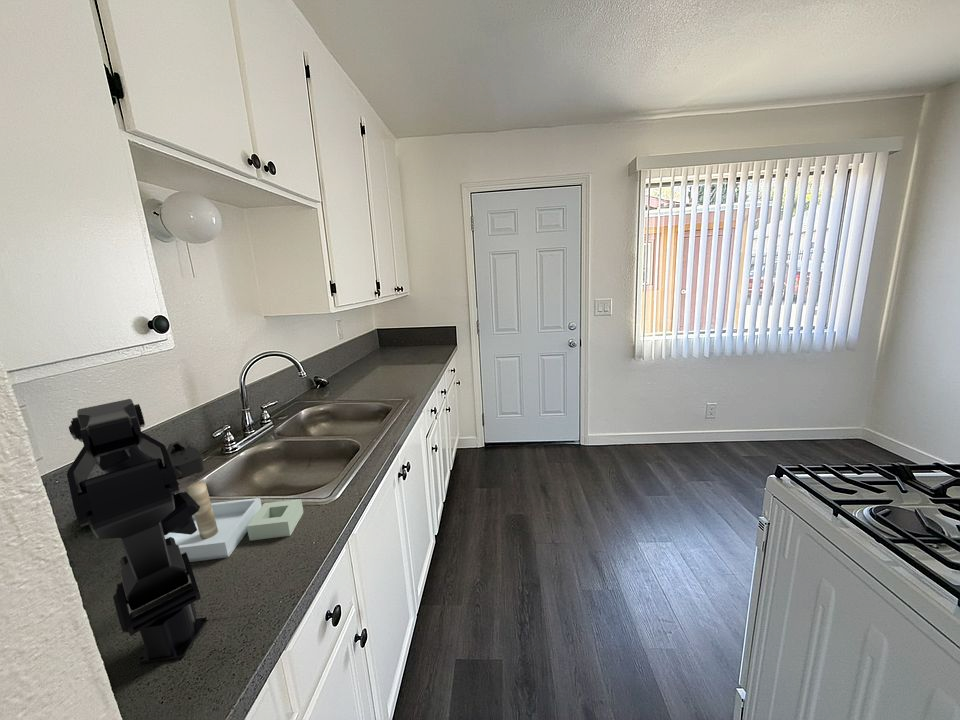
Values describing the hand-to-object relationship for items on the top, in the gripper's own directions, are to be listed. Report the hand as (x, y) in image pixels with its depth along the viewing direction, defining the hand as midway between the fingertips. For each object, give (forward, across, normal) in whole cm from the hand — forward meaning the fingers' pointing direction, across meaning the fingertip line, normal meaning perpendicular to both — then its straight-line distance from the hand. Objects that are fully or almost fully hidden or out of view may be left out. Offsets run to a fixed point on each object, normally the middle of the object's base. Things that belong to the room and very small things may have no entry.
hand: (183, 519), depth 73 cm
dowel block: (+14, -4, -11) cm, 19 cm away
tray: (+13, +6, -1) cm, 14 cm away
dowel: (+12, +6, -1) cm, 13 cm away
